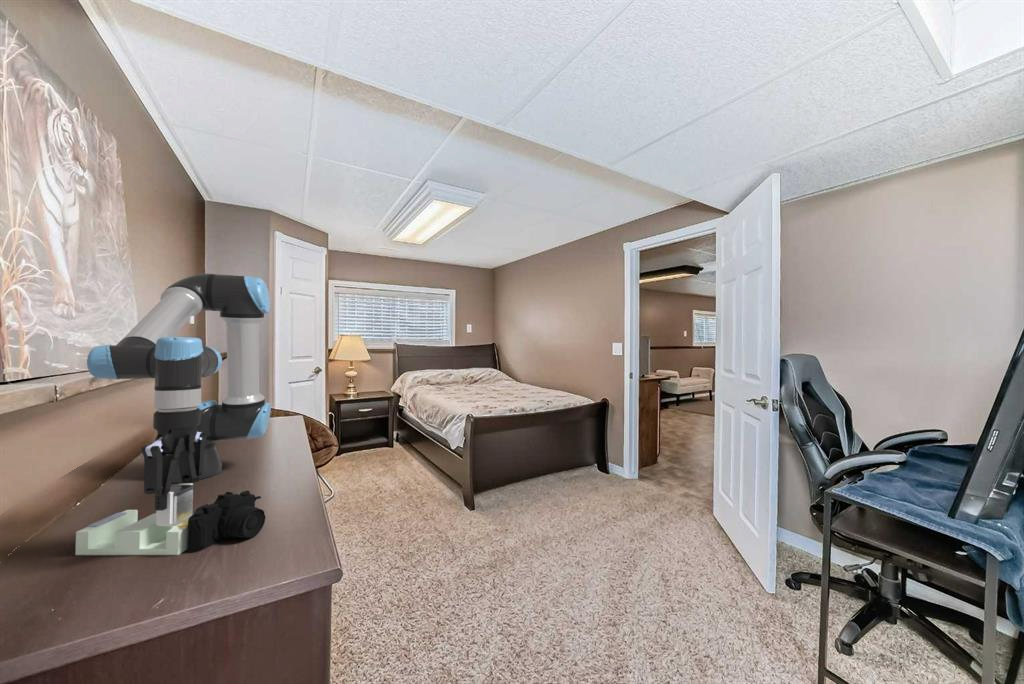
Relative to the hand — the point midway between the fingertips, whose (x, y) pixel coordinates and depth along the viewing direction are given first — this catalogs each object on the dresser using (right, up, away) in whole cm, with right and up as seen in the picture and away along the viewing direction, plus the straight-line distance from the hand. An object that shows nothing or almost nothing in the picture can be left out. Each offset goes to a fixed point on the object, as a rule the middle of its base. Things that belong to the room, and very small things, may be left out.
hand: (174, 518), depth 79 cm
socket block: (-5, -5, 0) cm, 7 cm away
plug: (0, -1, 0) cm, 1 cm away
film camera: (+10, -6, +3) cm, 12 cm away
